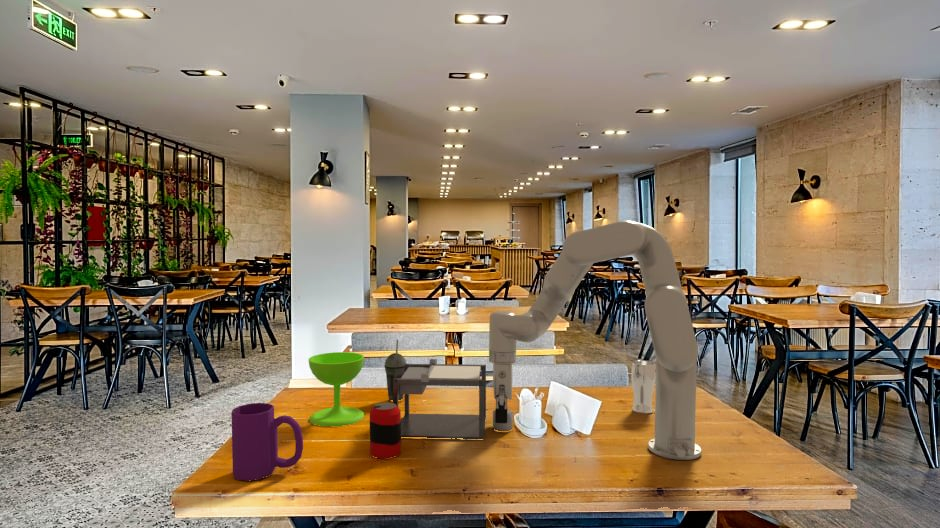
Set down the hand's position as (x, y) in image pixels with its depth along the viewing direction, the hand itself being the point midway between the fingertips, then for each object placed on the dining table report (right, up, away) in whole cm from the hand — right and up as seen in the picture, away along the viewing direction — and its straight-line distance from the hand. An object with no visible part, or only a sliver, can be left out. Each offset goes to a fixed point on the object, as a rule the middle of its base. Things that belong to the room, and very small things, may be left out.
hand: (501, 416), depth 155 cm
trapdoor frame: (-17, -3, +1) cm, 17 cm away
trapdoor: (-17, +8, 0) cm, 18 cm away
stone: (0, -4, 0) cm, 4 cm away
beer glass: (+45, -3, +16) cm, 48 cm away
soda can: (-30, -5, -17) cm, 35 cm away
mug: (-55, -5, -28) cm, 62 cm away
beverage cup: (-33, -2, +27) cm, 43 cm away
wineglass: (-48, -3, +10) cm, 49 cm away
